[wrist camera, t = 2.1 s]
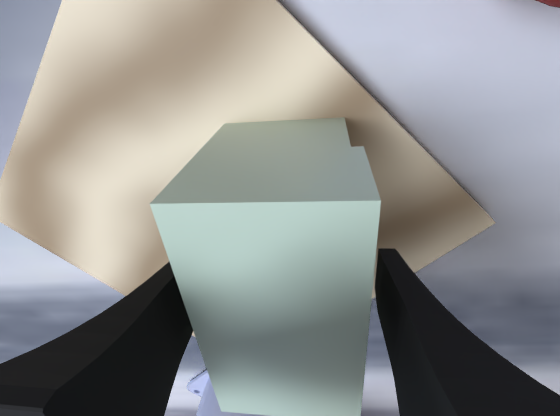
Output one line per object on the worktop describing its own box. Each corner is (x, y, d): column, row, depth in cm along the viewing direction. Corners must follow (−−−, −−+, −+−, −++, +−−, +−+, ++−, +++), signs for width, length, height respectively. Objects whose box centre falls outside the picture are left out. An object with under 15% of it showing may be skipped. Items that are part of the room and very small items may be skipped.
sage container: (347, 290, 18) (359, 423, 12) (253, 287, 19) (221, 411, 13) (354, 116, 13) (380, 200, 7) (224, 123, 14) (149, 204, 8)
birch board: (486, 211, 16) (495, 223, 15) (256, 359, 24) (253, 371, 23) (134, -146, 10) (117, -160, 9) (3, 206, 19) (-12, 214, 18)
